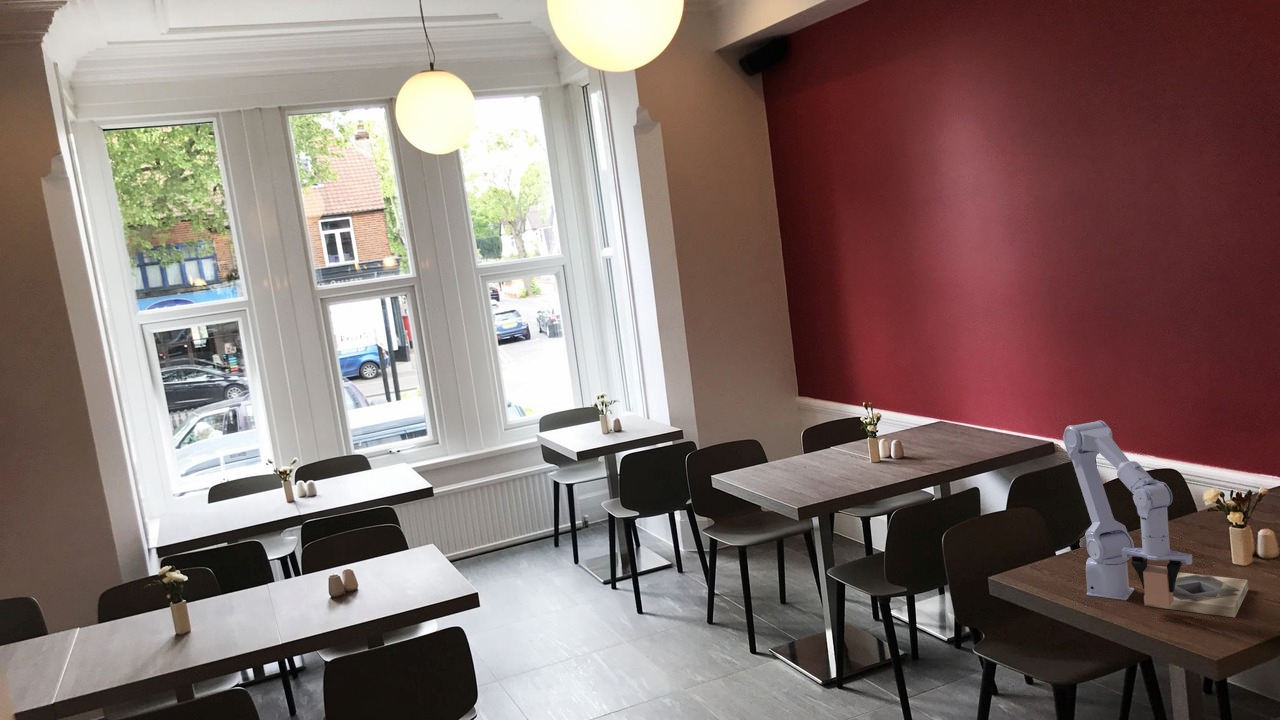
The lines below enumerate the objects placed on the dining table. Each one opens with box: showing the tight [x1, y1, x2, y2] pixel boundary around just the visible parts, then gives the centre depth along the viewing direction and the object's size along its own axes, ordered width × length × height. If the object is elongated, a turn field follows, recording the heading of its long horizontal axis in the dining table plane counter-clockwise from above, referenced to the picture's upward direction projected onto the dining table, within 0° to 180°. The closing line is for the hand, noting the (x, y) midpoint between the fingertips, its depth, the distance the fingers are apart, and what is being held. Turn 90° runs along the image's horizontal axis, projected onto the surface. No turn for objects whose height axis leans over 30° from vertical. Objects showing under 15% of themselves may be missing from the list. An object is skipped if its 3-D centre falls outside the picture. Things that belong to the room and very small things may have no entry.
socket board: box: [1143, 571, 1249, 618], centre depth 234 cm, size 19×19×2 cm
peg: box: [1143, 564, 1174, 607], centre depth 227 cm, size 5×5×8 cm
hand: (1158, 589), depth 227 cm, fingers closed on peg, 5 cm apart
